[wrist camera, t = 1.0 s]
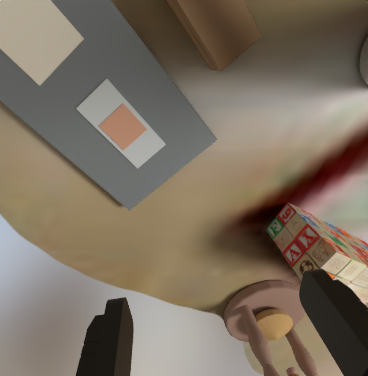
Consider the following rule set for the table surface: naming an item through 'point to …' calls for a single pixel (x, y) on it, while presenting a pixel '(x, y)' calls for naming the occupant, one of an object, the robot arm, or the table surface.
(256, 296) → the hourglass
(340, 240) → the stack of blocks
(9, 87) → the board
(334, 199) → the table surface
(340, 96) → the table surface
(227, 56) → the walnut brick
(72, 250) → the table surface
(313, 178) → the table surface
